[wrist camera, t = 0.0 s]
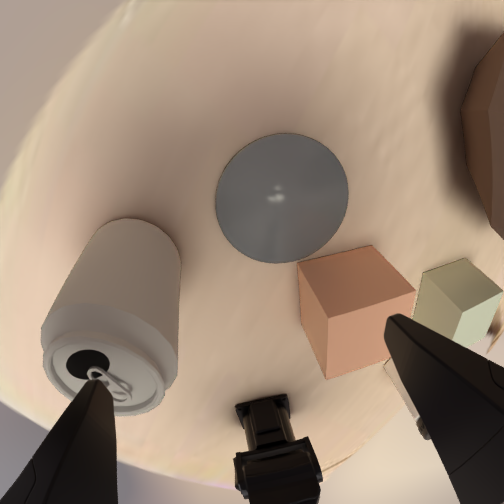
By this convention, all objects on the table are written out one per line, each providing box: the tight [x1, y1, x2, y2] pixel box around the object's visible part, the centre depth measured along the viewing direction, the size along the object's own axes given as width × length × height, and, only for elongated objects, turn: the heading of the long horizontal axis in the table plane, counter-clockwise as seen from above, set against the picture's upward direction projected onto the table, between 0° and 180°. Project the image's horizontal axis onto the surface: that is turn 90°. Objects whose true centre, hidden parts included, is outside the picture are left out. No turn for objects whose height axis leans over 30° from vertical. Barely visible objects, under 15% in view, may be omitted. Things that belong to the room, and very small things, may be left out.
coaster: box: [216, 133, 348, 263], centre depth 22 cm, size 10×10×1 cm
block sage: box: [413, 258, 503, 348], centre depth 27 cm, size 7×7×7 cm
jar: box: [384, 358, 431, 440], centre depth 30 cm, size 9×8×12 cm
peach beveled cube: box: [297, 245, 416, 380], centre depth 24 cm, size 7×7×7 cm
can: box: [41, 218, 181, 416], centre depth 17 cm, size 8×8×12 cm
